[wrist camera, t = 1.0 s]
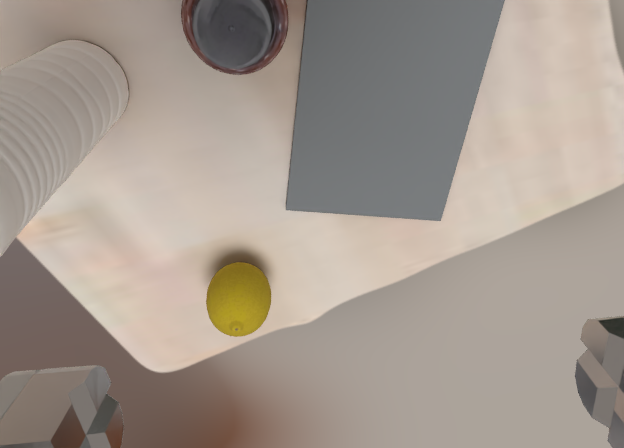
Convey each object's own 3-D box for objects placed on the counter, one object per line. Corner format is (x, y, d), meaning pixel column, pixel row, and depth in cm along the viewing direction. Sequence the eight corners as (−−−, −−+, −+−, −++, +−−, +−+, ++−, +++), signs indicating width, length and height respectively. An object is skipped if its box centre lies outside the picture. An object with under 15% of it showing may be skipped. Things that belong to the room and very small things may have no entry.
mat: (314, -72, 32) (315, -72, 32) (514, -44, 34) (517, -43, 33) (285, 207, 42) (285, 210, 42) (439, 218, 44) (440, 221, 44)
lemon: (246, 302, 47) (242, 364, 40) (199, 273, 45) (186, 333, 38) (283, 267, 46) (285, 325, 39) (236, 235, 43) (229, 290, 37)
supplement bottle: (194, 36, 35) (163, 74, 25) (204, -57, 32) (174, -55, 22) (276, 55, 36) (277, 98, 26) (293, -34, 33) (301, -22, 23)
